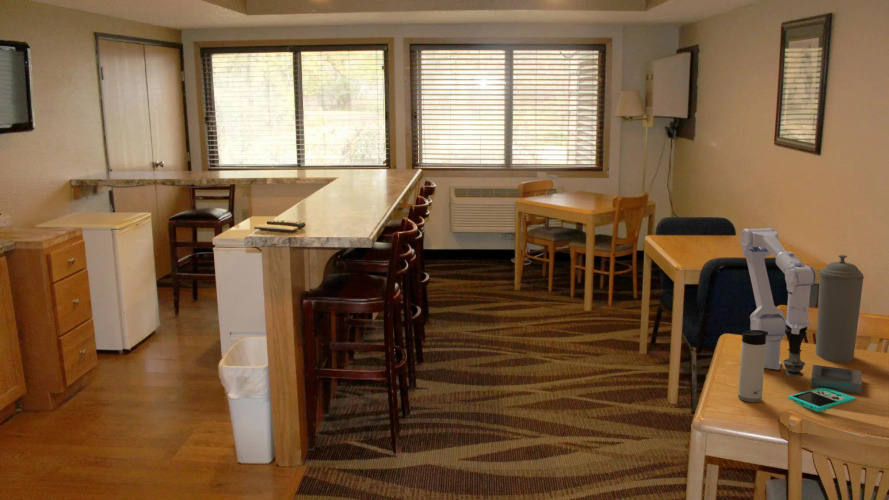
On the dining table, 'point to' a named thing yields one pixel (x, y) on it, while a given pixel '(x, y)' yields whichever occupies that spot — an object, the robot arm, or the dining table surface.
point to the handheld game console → (820, 398)
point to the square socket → (836, 379)
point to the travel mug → (752, 365)
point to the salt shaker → (794, 365)
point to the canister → (838, 311)
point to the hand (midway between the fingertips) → (794, 351)
